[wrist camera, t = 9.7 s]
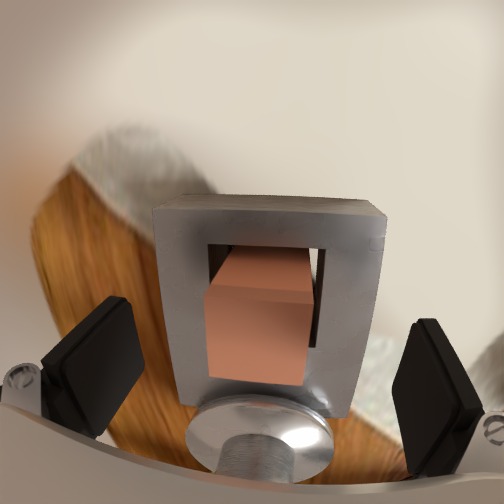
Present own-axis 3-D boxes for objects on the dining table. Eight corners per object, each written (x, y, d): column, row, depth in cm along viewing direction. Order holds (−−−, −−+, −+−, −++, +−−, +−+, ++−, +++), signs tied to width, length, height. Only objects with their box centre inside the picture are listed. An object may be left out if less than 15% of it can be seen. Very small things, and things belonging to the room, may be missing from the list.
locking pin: (241, 233, 17) (203, 295, 10) (307, 237, 17) (313, 304, 10) (241, 292, 18) (209, 376, 11) (302, 296, 18) (302, 385, 11)
